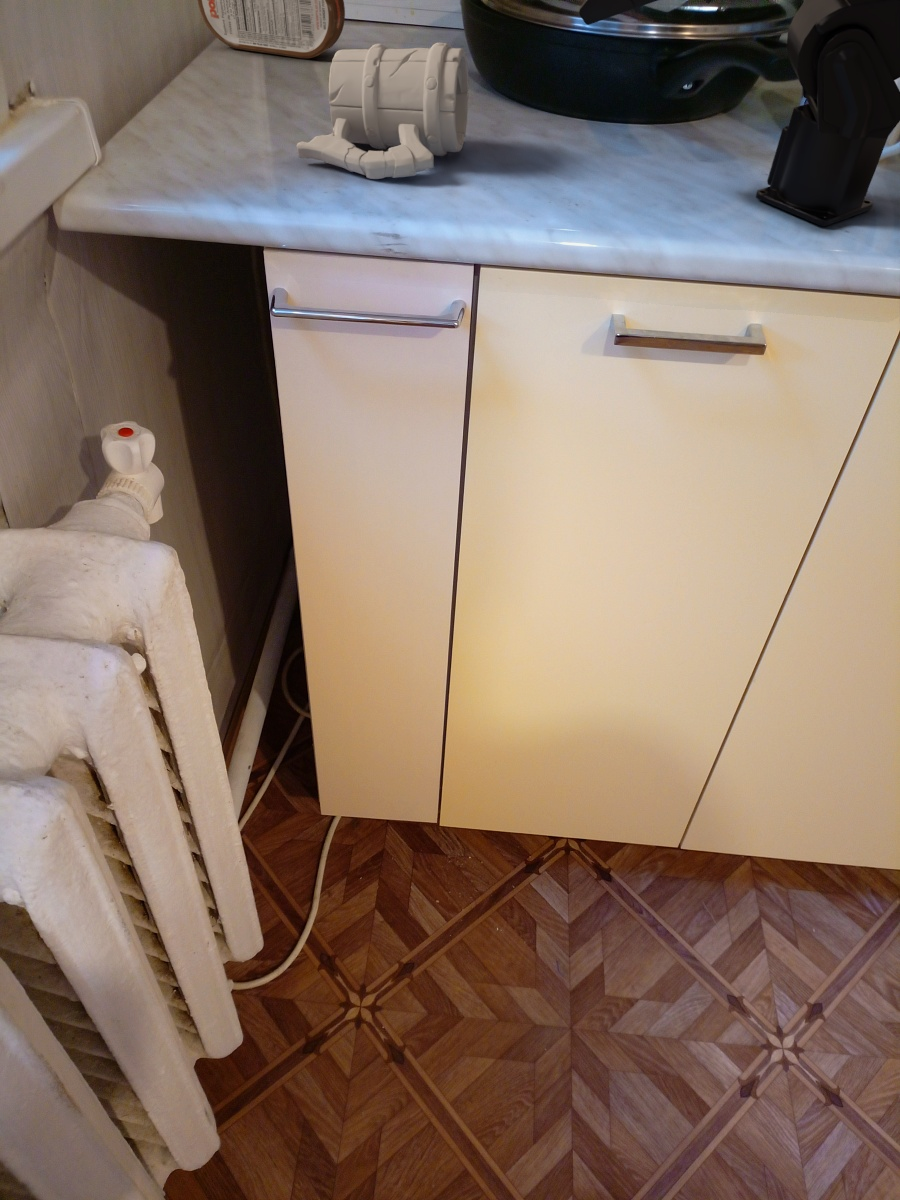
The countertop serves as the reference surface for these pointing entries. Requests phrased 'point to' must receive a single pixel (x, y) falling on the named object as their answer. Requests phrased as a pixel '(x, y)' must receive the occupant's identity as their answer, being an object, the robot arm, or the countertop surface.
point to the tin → (276, 25)
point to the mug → (394, 109)
